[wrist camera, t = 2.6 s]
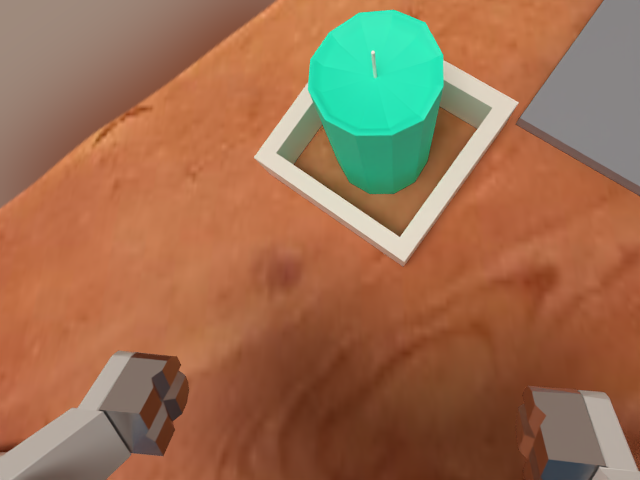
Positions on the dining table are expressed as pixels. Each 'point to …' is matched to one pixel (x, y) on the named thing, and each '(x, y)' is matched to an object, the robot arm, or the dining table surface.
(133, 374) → the robot arm
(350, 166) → the candle
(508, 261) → the dining table surface
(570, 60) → the slate tile
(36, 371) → the dining table surface
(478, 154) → the square frame
